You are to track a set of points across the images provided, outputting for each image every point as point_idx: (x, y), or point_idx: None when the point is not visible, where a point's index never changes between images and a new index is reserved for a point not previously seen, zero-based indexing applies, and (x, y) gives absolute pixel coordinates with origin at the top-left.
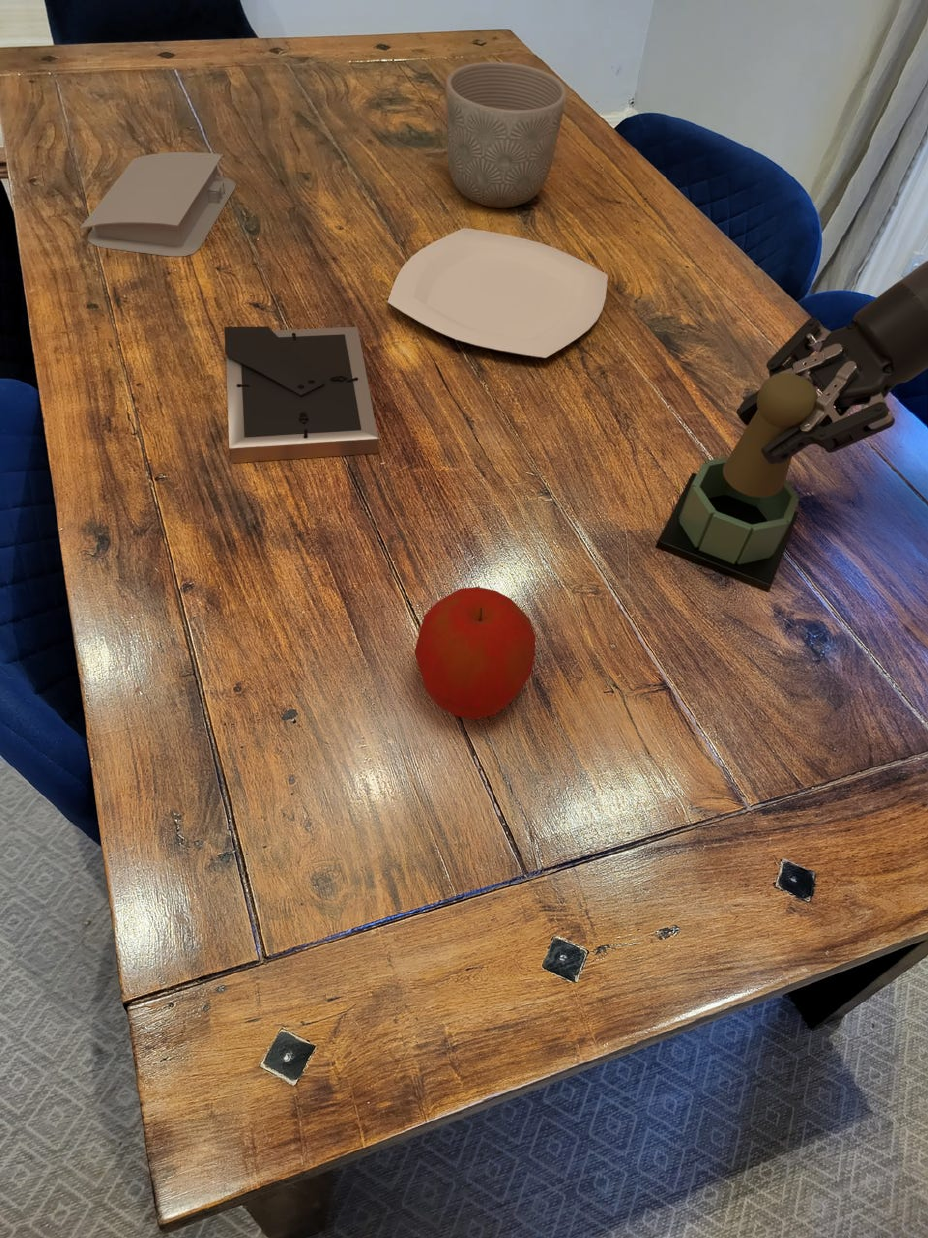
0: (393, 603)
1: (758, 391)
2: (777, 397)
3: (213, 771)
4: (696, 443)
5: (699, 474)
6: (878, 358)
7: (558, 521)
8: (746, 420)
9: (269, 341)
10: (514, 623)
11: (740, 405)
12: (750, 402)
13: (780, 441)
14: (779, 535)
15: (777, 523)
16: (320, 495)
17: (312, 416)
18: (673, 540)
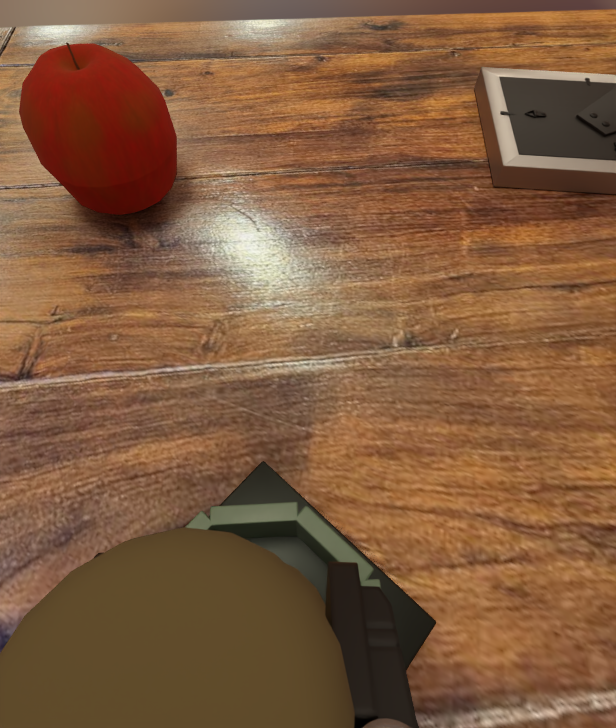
0: (260, 163)
1: (399, 673)
2: (105, 566)
3: (142, 58)
4: (555, 701)
5: (333, 538)
6: None
7: (349, 341)
8: (326, 607)
9: None
10: (49, 91)
11: (379, 589)
12: (350, 606)
13: None
14: None
15: None
16: (424, 136)
17: (540, 121)
18: (256, 488)
